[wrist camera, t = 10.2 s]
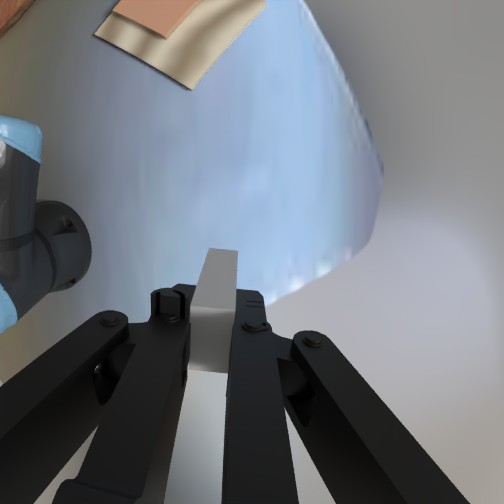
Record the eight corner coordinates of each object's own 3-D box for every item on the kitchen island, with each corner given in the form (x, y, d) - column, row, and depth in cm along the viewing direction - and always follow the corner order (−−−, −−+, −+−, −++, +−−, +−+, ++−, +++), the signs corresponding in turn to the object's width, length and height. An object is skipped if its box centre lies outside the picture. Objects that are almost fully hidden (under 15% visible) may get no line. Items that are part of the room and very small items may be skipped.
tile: (204, -7, 33) (150, -31, 30) (164, 35, 35) (112, 10, 32) (205, -3, 34) (152, -26, 32) (167, 39, 36) (115, 13, 34)
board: (267, 5, 36) (268, 3, 35) (192, 90, 40) (191, 89, 39) (168, -42, 32) (167, -45, 31) (97, 35, 36) (94, 34, 35)
